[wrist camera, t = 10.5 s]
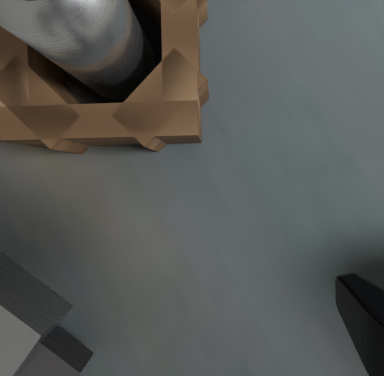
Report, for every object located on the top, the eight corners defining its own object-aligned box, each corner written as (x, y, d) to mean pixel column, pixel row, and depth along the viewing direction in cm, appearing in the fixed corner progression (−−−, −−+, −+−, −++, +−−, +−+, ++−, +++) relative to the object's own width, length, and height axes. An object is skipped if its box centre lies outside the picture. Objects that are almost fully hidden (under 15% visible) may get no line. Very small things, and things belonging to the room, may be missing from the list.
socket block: (209, 150, 20) (208, 145, 16) (33, 155, 20) (-11, 150, 16) (206, -36, 19) (204, -90, 15) (26, -26, 20) (-21, -75, 16)
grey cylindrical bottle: (131, 113, 20) (6, 22, 8) (69, 76, 20) (-145, -68, 8) (167, 48, 20) (95, -145, 8) (105, 12, 20) (-62, -234, 8)
